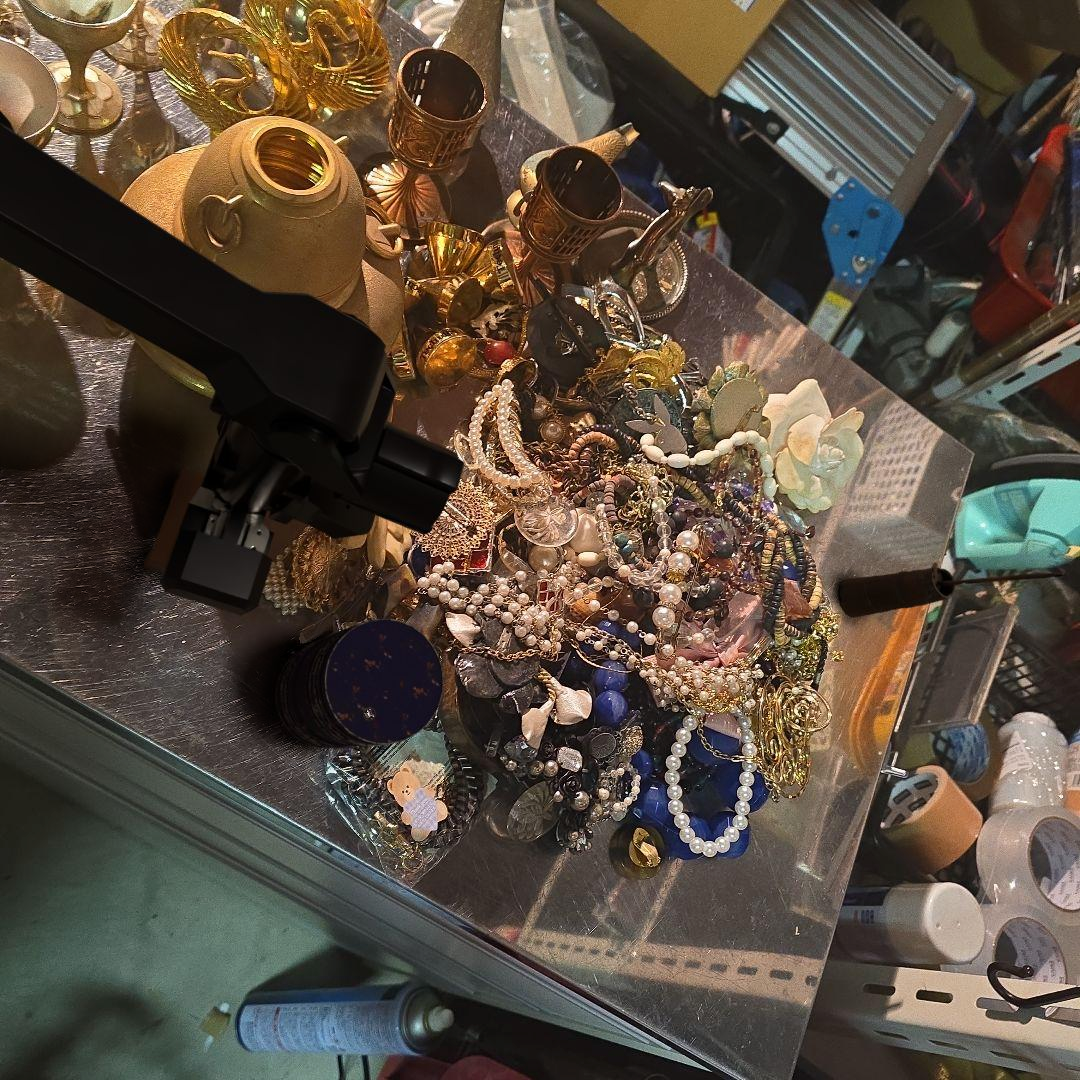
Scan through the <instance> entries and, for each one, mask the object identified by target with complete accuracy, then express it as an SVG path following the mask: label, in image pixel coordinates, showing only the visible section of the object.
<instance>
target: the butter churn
mask: <svg viewBox="0 0 1080 1080" xmlns="http://www.w3.org/2000/svg"><path fill="white" fill-rule="evenodd" d="M1064 575H1065V574H1064V572H1036V573H1023V574H1015V575H1006V576H1005V575H1004V576H992V577H991V576H990V577H981V578H969V579H967V578H966V579H960V580H959V579H958V580H957V579H956V580H955V578H954V576H953V575H952V573H951V572H950V571H949V570H947V569H946V568H941V567H939V566H938V563H937V562H934V563H933V564H932V565H931V567H929V568H924V569H914V570H903V571H898V572H895V573H888V574H881V575H878V574H877V575H871V576H861V577H850V578H846V579H844V580H843V581H842V582H841V583H840V584H839V587H840V589H839V597H840V607H842V610H843V612H844V613H845V614H846V616H849V617H851V618H861V617H865V616H871V615H875V614H882V613H883V614H884V613H887V612H890V611H896V610H901V609H909V608H910V609H912V608H913V609H914V608H915V607H920V606H921V607H922V606H925V605H929V604H934V603H938V602H942V601H945V600H947V599H950V597H952V596H953V597H954V594H955V591H956V588H957V587H956V586H958V585H960V586H961V585H962V584H966V585H972V584H984V583H985V584H986V583H994V582H995V583H997V582H1009V581H1022V580H1023V581H1024V580H1035V579H1038V580H1039V579H1048V578H1049V579H1050V578H1058V577H1059V578H1061V577H1063V576H1064Z"/></svg>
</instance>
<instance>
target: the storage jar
mask: <svg viewBox="0 0 1080 1080" xmlns="http://www.w3.org/2000/svg"><path fill="white" fill-rule="evenodd" d="M444 682H445V681H444V671H443V667H442V663H441V660H440V655H439V654H438V652H437V650H436V649H435V646H434V645H433V643H431V641H430V639H428V637H427V636H426V635H425V634H424V633H422V631H420V630H419V629H417V628H416V627H415V626H413V625H411V624H408V623H407V622H404V621H401V620H398V619H392V618H376V619H372V620H371V619H370V620H367V621H364V622H360V623H357V624H354V625H352V626H349V627H346V628H344V629H341V630H339V631H337V632H335V633H334V634H332V635H328V636H325V637H322V638H319V639H317V640H314V641H313V642H311V643H310V644H308V645H306V646H304V647H302V648H301V649H299V650H298V651H296V652H295V653H294V654H293V655H292V656H291V657H290V658H289V659H288V660H287V662H285V664H284V666H283V667H282V669H281V671H280V673H279V676H278V679H277V681H276V687H275V704H276V710H277V713H278V716H279V718H280V720H281V722H282V724H283V725H284V727H285V728H286V729H287V730H288V732H289V733H290V734H291V735H292V736H293V737H294V738H296V739H297V740H299V741H300V742H302V743H304V744H306V745H309V746H312V747H316V748H321V749H322V748H323V749H334V750H336V749H338V750H339V749H351V748H371V747H381V746H387V745H391V744H397V743H401V742H404V741H407V740H409V739H411V738H413V737H414V736H415V735H417V734H419V733H420V732H421V731H422V730H424V728H426V727H427V726H428V724H429V723H430V722H431V721H432V720H433V718H434V716H435V715H436V713H437V711H438V709H439V706H440V704H441V702H442V696H443V694H444ZM367 709H368V710H369V709H372V710H373V711H374V717H373V718H372V719H367V718H366V717H365V714H364V713H366V712H367ZM369 711H370V710H369ZM367 713H368V712H367Z"/></svg>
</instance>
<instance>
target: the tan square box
mask: <svg viewBox="0 0 1080 1080" xmlns="http://www.w3.org/2000/svg"><path fill="white" fill-rule="evenodd" d="M204 476H205V474H202V473H199V472H196V471H193V470H191V469H188V468H185V467H183V468H182V470H181V472H180V473H179V475H178V477H177V478H176V480H175V482H174V484H173V487H172V490H171V492H170V495H169V496H171V499H170V501H169V504H168V507H167V508H166V512H165V513H164V514H165V515H164V517H163V519H162V522H161V525H160V528H159V530H158V533H157V536H156V538H155V541H154V544H153V546H152V548H151V550H150V551H149V553H148V554H147V556H146V559H145V561H144V564H143V568H144V569H145V570H146V569H147V570H150V571H152V572H156V573H159V574H162V573H163V570H164V568H165V565H166V562H167V559H168V557H169V554H170V551H171V548H172V546H173V543H174V541H175V539H176V537H177V534H178V532H179V529H180V526H181V523H182V521H183V518H184V515H185V512H186V510H187V507H188V504H189V503H190V501H191V500H192V498H193V497H194V495H195V494H196V492H197V491H198V489H199V488H200V487H201V484H202V482H203V479H204Z"/></svg>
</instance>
